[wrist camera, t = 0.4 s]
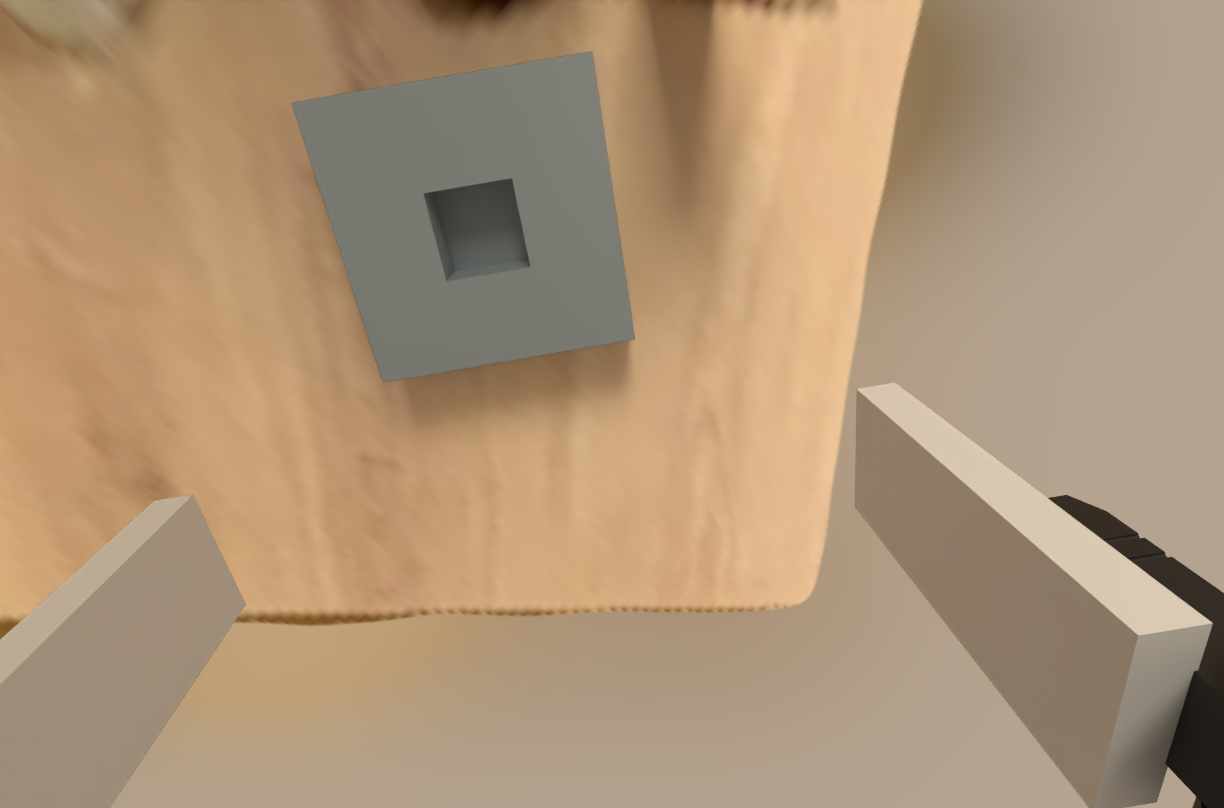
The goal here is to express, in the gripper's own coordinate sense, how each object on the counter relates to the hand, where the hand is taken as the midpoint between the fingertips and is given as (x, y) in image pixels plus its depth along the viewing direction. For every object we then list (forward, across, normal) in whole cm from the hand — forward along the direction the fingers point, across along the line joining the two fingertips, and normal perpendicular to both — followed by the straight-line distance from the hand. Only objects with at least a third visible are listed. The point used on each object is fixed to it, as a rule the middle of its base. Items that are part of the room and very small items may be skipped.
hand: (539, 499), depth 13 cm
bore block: (+26, -3, +3) cm, 26 cm away
